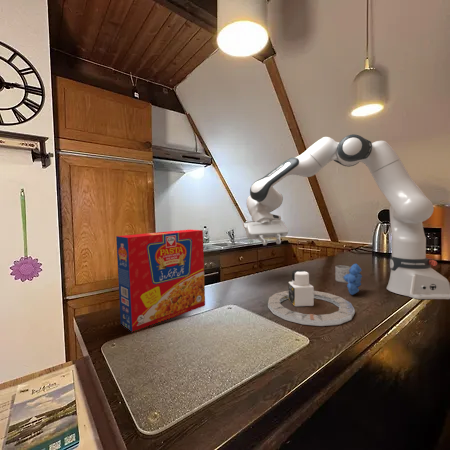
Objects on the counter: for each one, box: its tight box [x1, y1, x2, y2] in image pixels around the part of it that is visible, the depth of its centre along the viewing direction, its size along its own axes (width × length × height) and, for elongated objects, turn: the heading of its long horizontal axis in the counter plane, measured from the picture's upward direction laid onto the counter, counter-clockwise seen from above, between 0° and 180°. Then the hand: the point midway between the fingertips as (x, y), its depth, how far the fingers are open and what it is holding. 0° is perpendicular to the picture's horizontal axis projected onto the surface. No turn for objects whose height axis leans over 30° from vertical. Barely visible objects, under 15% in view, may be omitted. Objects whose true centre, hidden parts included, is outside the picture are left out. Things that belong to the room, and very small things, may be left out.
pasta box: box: [115, 229, 206, 333], centre depth 85 cm, size 28×8×28 cm, turn 135°
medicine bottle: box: [288, 269, 315, 307], centre depth 92 cm, size 7×7×12 cm
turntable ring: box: [267, 290, 356, 327], centre depth 88 cm, size 28×28×2 cm
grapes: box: [343, 263, 363, 296], centre depth 102 cm, size 12×7×12 cm, turn 137°
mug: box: [334, 264, 351, 284], centre depth 121 cm, size 10×7×7 cm
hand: (272, 243), depth 112 cm, fingers open, 5 cm apart
